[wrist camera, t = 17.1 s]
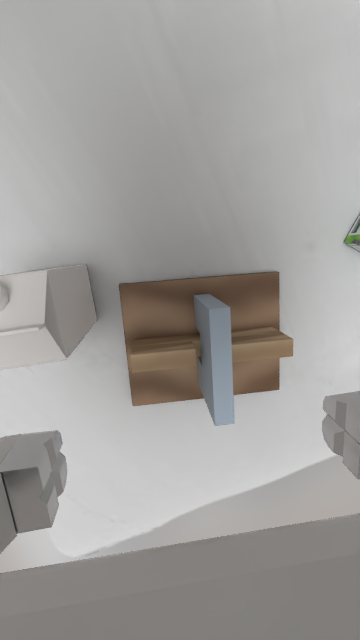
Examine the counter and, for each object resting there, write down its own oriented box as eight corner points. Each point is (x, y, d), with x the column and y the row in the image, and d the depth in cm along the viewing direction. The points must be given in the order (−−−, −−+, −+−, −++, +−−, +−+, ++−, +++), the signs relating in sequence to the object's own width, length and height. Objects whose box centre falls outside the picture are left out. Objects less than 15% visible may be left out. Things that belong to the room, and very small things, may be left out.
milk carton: (97, 320, 39) (51, 380, 20) (40, 328, 38) (-61, 398, 20) (86, 263, 37) (25, 272, 19) (27, 271, 37) (-98, 288, 18)
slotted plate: (193, 295, 38) (209, 309, 28) (209, 293, 38) (230, 307, 28) (199, 384, 41) (214, 425, 31) (213, 383, 41) (234, 423, 31)
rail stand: (119, 284, 38) (113, 290, 31) (275, 271, 40) (302, 275, 33) (133, 401, 41) (129, 432, 34) (275, 386, 43) (300, 411, 36)
